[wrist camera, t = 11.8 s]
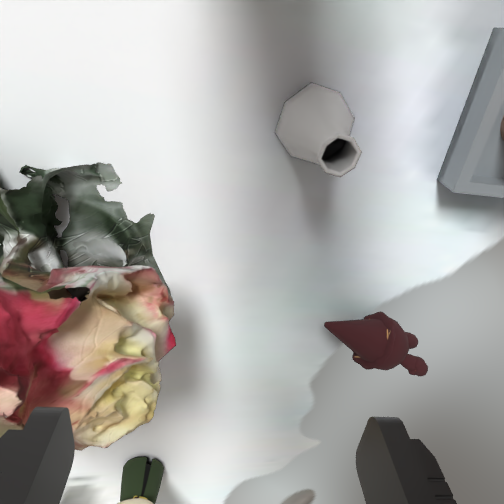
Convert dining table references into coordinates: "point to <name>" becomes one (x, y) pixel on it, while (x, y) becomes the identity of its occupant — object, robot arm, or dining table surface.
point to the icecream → (379, 343)
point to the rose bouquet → (79, 307)
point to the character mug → (140, 481)
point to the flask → (319, 129)
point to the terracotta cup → (502, 128)
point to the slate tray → (480, 131)
